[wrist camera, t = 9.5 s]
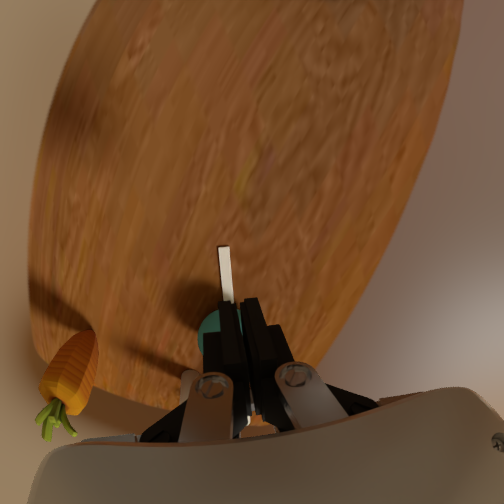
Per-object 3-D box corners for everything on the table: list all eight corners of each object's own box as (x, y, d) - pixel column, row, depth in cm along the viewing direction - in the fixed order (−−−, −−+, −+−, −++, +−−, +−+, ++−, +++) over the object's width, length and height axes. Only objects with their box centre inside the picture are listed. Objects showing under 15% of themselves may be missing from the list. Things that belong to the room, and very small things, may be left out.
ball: (202, 369, 28) (200, 315, 30) (259, 367, 28) (255, 313, 31) (194, 369, 23) (192, 302, 25) (264, 367, 23) (260, 300, 25)
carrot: (94, 306, 27) (38, 411, 13) (120, 340, 29) (85, 450, 15) (66, 321, 27) (10, 417, 13) (91, 353, 29) (52, 452, 15)
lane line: (218, 247, 27) (218, 247, 26) (229, 246, 27) (229, 246, 26) (226, 327, 30) (226, 328, 30) (235, 326, 30) (236, 327, 30)
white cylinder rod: (179, 370, 31) (176, 430, 23) (199, 369, 31) (200, 429, 23) (183, 383, 32) (181, 442, 24) (202, 382, 32) (204, 441, 24)
